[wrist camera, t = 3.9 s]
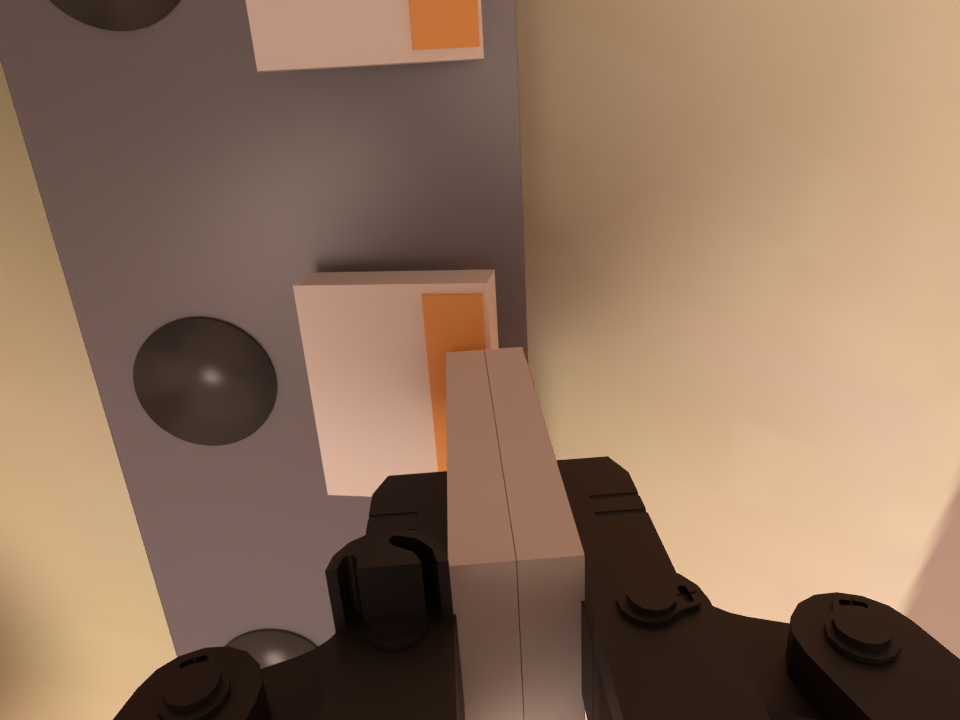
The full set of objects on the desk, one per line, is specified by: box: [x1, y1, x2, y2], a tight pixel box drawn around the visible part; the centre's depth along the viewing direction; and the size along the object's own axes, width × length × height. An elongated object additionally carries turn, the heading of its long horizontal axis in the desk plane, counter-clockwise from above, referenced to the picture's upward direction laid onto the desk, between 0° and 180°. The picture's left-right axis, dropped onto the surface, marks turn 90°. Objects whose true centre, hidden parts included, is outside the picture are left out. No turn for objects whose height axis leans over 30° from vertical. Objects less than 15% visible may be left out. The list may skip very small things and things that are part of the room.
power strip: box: [0, 0, 528, 669], centre depth 18 cm, size 28×10×4 cm, turn 3°
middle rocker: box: [293, 270, 499, 497], centre depth 15 cm, size 5×4×1 cm
